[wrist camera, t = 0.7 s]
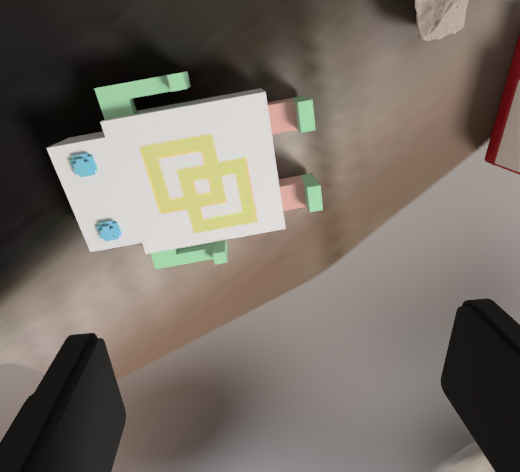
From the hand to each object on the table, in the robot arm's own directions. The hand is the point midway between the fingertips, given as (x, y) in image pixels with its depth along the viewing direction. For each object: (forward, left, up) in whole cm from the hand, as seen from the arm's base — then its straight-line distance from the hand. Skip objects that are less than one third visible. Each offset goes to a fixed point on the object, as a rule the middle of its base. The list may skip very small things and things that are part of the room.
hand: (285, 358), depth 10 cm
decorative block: (-1, -6, -35) cm, 35 cm away
